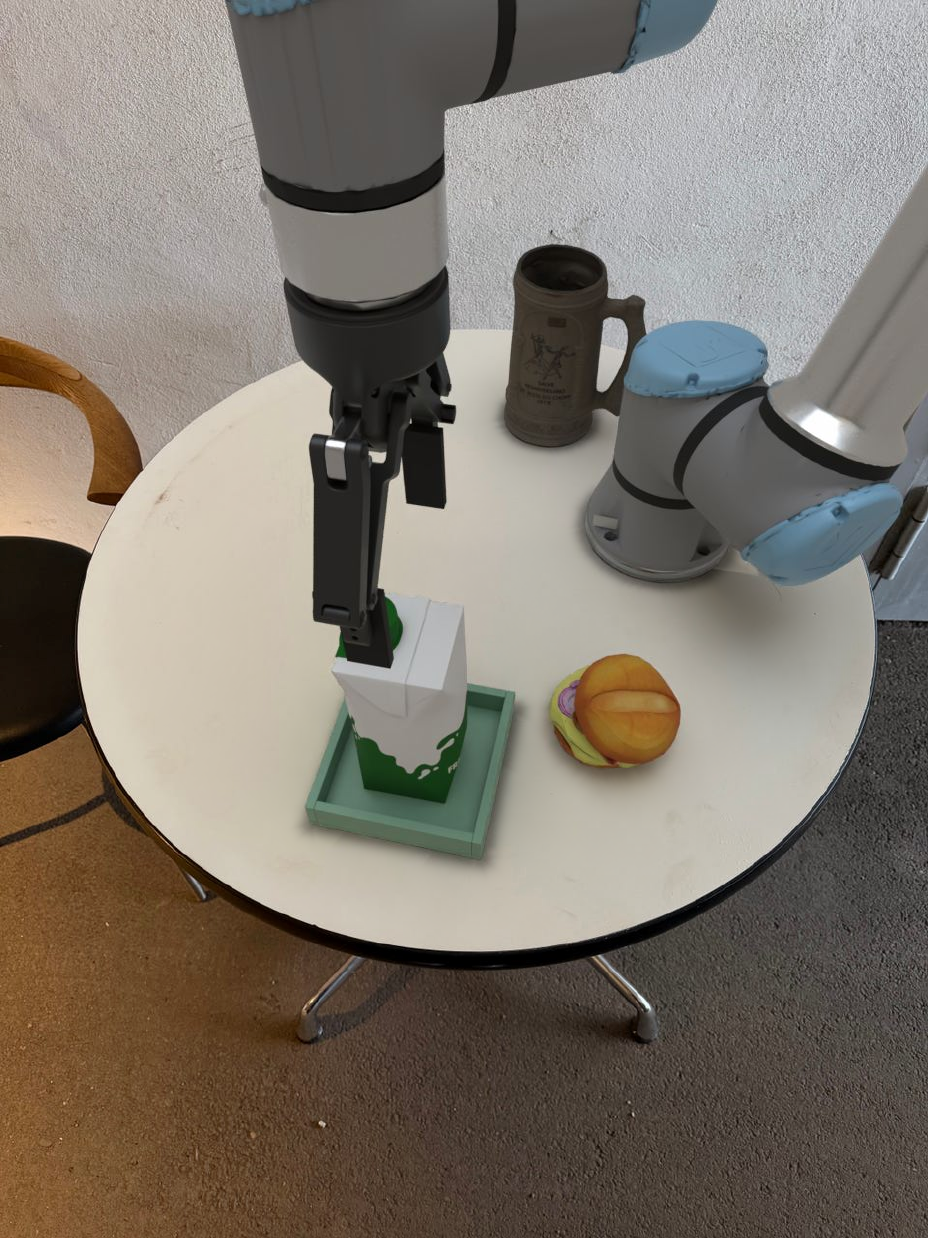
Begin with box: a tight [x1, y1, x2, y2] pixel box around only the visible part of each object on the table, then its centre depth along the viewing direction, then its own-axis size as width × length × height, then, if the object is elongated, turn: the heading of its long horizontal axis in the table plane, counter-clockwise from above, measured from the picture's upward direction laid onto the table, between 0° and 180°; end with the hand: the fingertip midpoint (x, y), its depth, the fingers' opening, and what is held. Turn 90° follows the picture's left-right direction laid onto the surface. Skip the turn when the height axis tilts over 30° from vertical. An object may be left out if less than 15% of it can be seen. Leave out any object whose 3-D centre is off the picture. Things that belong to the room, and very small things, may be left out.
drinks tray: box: [304, 682, 516, 860], centre depth 74 cm, size 15×15×3 cm
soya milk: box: [331, 592, 468, 804], centre depth 66 cm, size 9×9×20 cm
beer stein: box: [503, 243, 647, 447], centre depth 96 cm, size 15×11×20 cm
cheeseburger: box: [548, 653, 682, 770], centre depth 74 cm, size 10×11×10 cm
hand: (400, 576), depth 55 cm, fingers open, 13 cm apart
